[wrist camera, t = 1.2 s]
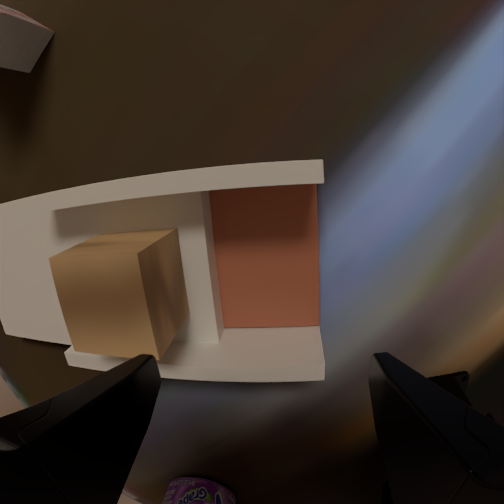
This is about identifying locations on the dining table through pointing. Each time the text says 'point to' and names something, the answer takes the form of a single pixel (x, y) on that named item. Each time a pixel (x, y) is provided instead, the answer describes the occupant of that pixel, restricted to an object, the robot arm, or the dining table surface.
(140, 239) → the oak block
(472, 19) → the dining table surface
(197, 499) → the beverage can
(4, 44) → the grey box
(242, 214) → the trap channel
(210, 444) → the dining table surface
